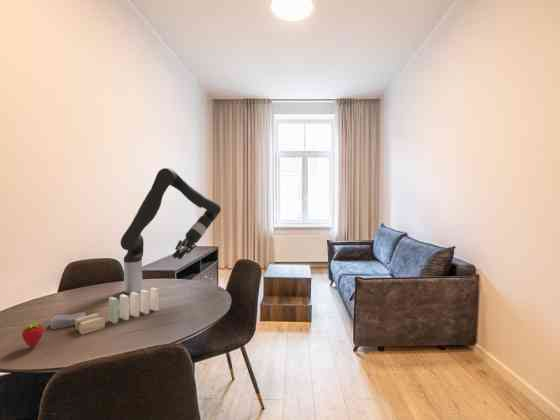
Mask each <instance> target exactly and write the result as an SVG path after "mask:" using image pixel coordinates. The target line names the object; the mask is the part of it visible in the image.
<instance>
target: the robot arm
mask: <svg viewBox="0 0 560 420" xmlns="http://www.w3.org/2000/svg"><path fill="white" fill-rule="evenodd" d="M170 186H171V187H173V188H175V189H176V190H177V191H179V192H180V193H181V194H182V195H183V196H184V197H185V198H186V199H187V200H189V202H191V203H192V204H193V205H195V206H196V207H197V208H200V209H201V208H203V209H205V211H204V213H203V214H202V215H201V216H199V218H198V219H197V220H196V222H194V223H193V224H192V226H191V227H190V228H189V230H187V232H186V234H185V236H184V237H185V238H184V239H183V240H179V241H178V242H177V244H176V246H175V248H174V249H175V252H174V253H173V254H172V257H173V259H178V260H181V259H183V257H184V256H185V255H187V254H190V253H191V252H192V251H193V250H194V249H195V248H196V247H197V243H199V241H200V239H202V237H204V235H205V233H206V231H207V230H208V229H209V228H210V226H211V224H212V223H213V222H214V220H216V218H217V217H218V215H219V214H220V212H221V210H222V208H221V206H220V204H219V203H217V202H216V201H214V200H212V199H210V198H208V197H206V196H205V195H204V194H202V193H201V192H199V190H197V189H195V188H194V187H193V186H191V185H190V184H188V182H186V181H185V180H184V179H183V178H182V177H181V176H180V175H179V174H178V173H177V172H176V171H175V170H174V169H173V168H169V167H167V168H166V167H164V168H160V170H158V172H157V174H156V176H155V179H154V181H153V184H152V186H151V188H150V190H148V193H147V194H146V196H145V198H144V200H143V201H142V203H141V205H140V206H139V208H138V210H137V212H136V214H135V216H134V218H133V220H132V221H131V223H130V225H129V227H128V228H127V229H126V231H125V232H124V234H123V235H122V237H121V239H120V247H121V248H122V249H123V250H125V251H127V253H126V254H125V255H124V256H123V279H124V280H123V281H124V283H123V285H124V286H123V288H124V290H123V291H124V293H125V294H130V293H131V292H136V293H139V292H140V290H143V257H144V237H143V235H142V234H141V233H143V231H144V229H145V228H146V227H147V226H148V225H149V224H150V223H151V222H152V221H153V220H154V219H155V217H156V216H157V214H158V212H159V210H160V208H161V204H162V201H163V197H164V194H165V192H166V191H167V189H168V188H169V187H170Z"/></svg>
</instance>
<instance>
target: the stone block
mask: <svg viewBox="0 0 560 420" xmlns="http://www.w3.org/2000/svg"><path fill="white" fill-rule="evenodd" d="M85 316H87V313H86V312H84V311H81V312H75V313H72V314H59V315H54V316H53V317H52V319H51V320H50V322H49V323H50V329H51V330H54V329H53V328H57V329H60V328H59V327H63V328H67V327H66V326H70V327H74V326H73V325H75V319H77V318H81V317H85Z"/></svg>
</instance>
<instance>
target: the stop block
mask: <svg viewBox="0 0 560 420" xmlns="http://www.w3.org/2000/svg"><path fill="white" fill-rule="evenodd" d="M105 320H106V319H105V317H104V316H102V315H101V314H99V313H93V314H90V315H86V316H85V317H81V318H77V319H75V326H74V328H75V330H76V331H77V330H78V331H79V332H78V331H77V332H78V333H80V334H81V335H84V334H88V333H92V332H95V331H99V330H101V329H105V327H106V325H105V324H106V321H105Z"/></svg>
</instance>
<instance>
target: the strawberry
mask: <svg viewBox="0 0 560 420" xmlns="http://www.w3.org/2000/svg"><path fill="white" fill-rule="evenodd" d="M35 321H36V319H34V320H33V321H32V322H31V323H30V324H26V325H25V326H24V329H23V330H22V333H21V337H22V339H23V341H24V343H26V345H27V346H29V348H31V347H34V348H35V347H36V346H37V344H38V343H39V342H40V340H42V338H43V336H44V331H45V329H44V326H43V325H42V323H38V322H35Z"/></svg>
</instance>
